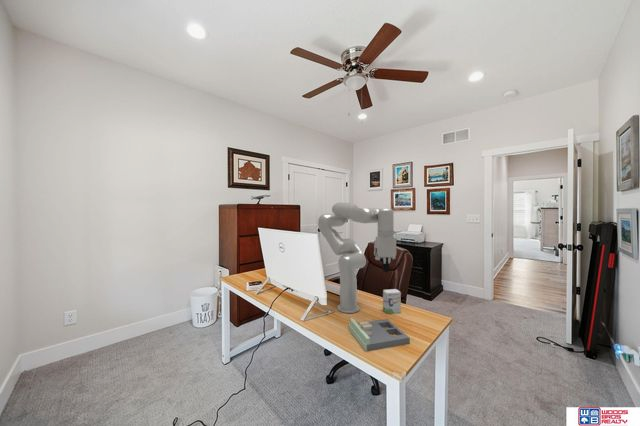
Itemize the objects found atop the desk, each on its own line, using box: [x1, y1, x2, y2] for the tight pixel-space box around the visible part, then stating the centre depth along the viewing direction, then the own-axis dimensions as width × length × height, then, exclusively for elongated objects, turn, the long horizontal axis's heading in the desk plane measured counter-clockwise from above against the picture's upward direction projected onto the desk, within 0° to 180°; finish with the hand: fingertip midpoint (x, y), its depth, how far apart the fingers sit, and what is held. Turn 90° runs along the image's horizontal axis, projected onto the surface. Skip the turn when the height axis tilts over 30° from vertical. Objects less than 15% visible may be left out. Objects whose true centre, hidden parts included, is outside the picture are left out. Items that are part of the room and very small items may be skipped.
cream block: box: [359, 321, 372, 336], centre depth 104 cm, size 4×4×4 cm
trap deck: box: [348, 318, 411, 352], centre depth 107 cm, size 18×21×5 cm
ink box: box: [382, 288, 402, 315], centre depth 132 cm, size 9×5×12 cm, turn 101°
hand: (385, 271), depth 115 cm, fingers closed
